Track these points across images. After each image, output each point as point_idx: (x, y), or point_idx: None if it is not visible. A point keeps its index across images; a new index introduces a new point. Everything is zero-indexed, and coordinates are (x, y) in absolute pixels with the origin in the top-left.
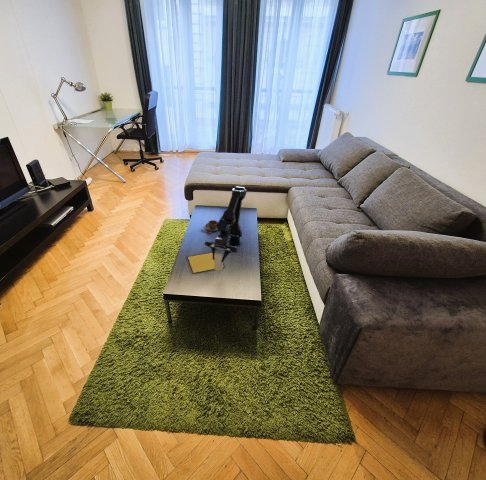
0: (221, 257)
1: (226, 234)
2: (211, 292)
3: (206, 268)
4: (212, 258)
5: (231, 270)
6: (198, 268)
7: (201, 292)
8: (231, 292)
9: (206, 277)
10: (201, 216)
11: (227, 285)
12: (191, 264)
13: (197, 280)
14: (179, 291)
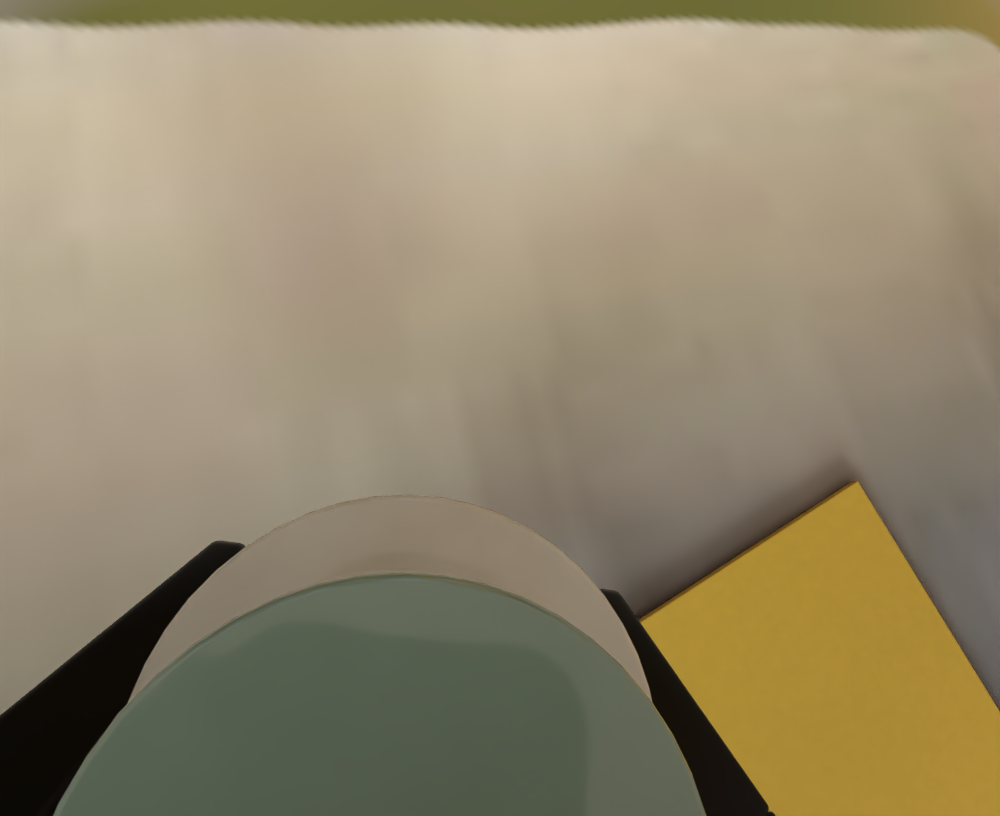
0: (199, 598)
1: None
2: (430, 88)
3: (673, 664)
4: None
5: None
6: (818, 626)
7: (583, 72)
8: (84, 124)
9: (601, 417)
10: None
11: (176, 279)
12: (982, 715)
13: (725, 315)
14: (886, 58)
